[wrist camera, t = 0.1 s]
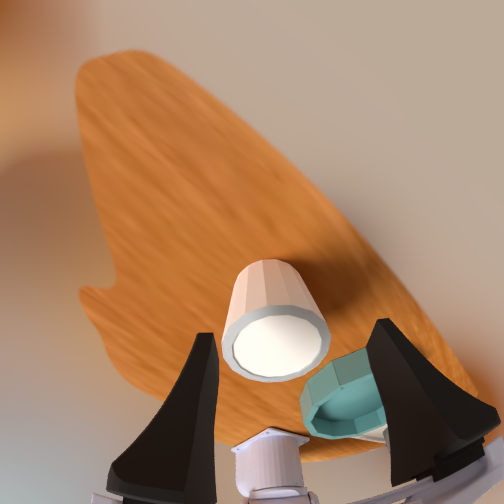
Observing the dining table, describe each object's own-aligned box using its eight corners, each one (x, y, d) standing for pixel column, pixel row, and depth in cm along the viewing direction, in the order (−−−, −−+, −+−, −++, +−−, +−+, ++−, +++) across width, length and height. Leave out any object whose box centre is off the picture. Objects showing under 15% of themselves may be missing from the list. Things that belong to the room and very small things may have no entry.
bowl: (348, 424, 34) (354, 443, 30) (276, 402, 30) (279, 426, 27) (425, 367, 29) (436, 386, 26) (368, 328, 25) (380, 352, 22)
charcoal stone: (390, 435, 36) (397, 453, 33) (377, 433, 35) (384, 452, 32) (411, 421, 35) (419, 439, 31) (400, 418, 34) (407, 437, 30)
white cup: (237, 328, 25) (236, 390, 18) (216, 261, 22) (206, 318, 15) (313, 313, 24) (332, 372, 18) (304, 243, 21) (328, 294, 15)
